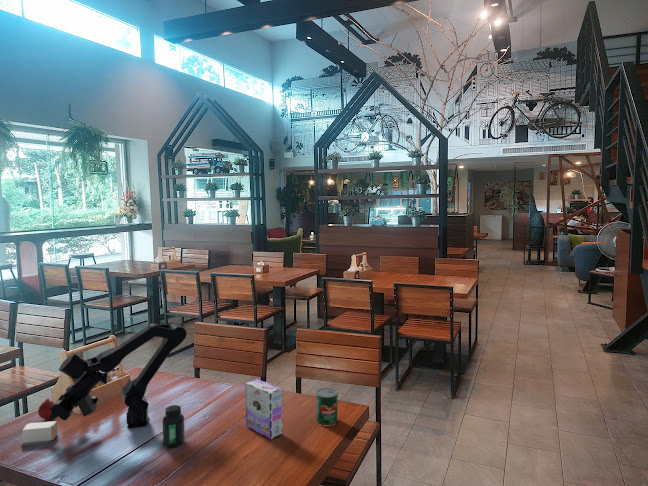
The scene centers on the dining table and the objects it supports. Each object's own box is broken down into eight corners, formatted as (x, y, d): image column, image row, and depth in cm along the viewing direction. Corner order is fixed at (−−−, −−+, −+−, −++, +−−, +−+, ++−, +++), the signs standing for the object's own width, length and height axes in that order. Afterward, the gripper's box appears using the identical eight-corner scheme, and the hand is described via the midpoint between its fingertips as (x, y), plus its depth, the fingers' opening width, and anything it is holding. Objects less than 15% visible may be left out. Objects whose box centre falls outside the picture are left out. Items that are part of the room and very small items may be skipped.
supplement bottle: (175, 450, 147) (174, 414, 146) (158, 446, 149) (157, 410, 148) (189, 439, 153) (188, 405, 152) (172, 436, 155) (171, 402, 154)
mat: (55, 433, 157) (55, 432, 157) (48, 443, 151) (48, 442, 151) (30, 435, 156) (30, 434, 156) (21, 446, 149) (21, 444, 149)
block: (57, 420, 156) (27, 423, 154) (52, 427, 152) (22, 429, 150) (57, 433, 156) (28, 436, 154) (53, 440, 152) (22, 443, 150)
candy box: (283, 434, 157) (283, 388, 156) (270, 440, 153) (270, 393, 151) (258, 421, 166) (257, 377, 165) (245, 427, 162) (244, 382, 161)
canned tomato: (325, 428, 161) (325, 398, 160) (311, 421, 167) (311, 391, 166) (342, 421, 166) (342, 392, 165) (327, 414, 172) (327, 386, 171)
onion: (48, 424, 164) (47, 402, 163) (34, 422, 165) (33, 401, 164) (60, 416, 169) (59, 396, 169) (47, 415, 171) (46, 394, 170)
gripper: (96, 411, 147) (60, 448, 146) (110, 389, 166) (78, 421, 164) (68, 390, 145) (31, 427, 144) (85, 369, 163) (53, 402, 162)
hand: (50, 419), depth 153 cm, fingers closed
